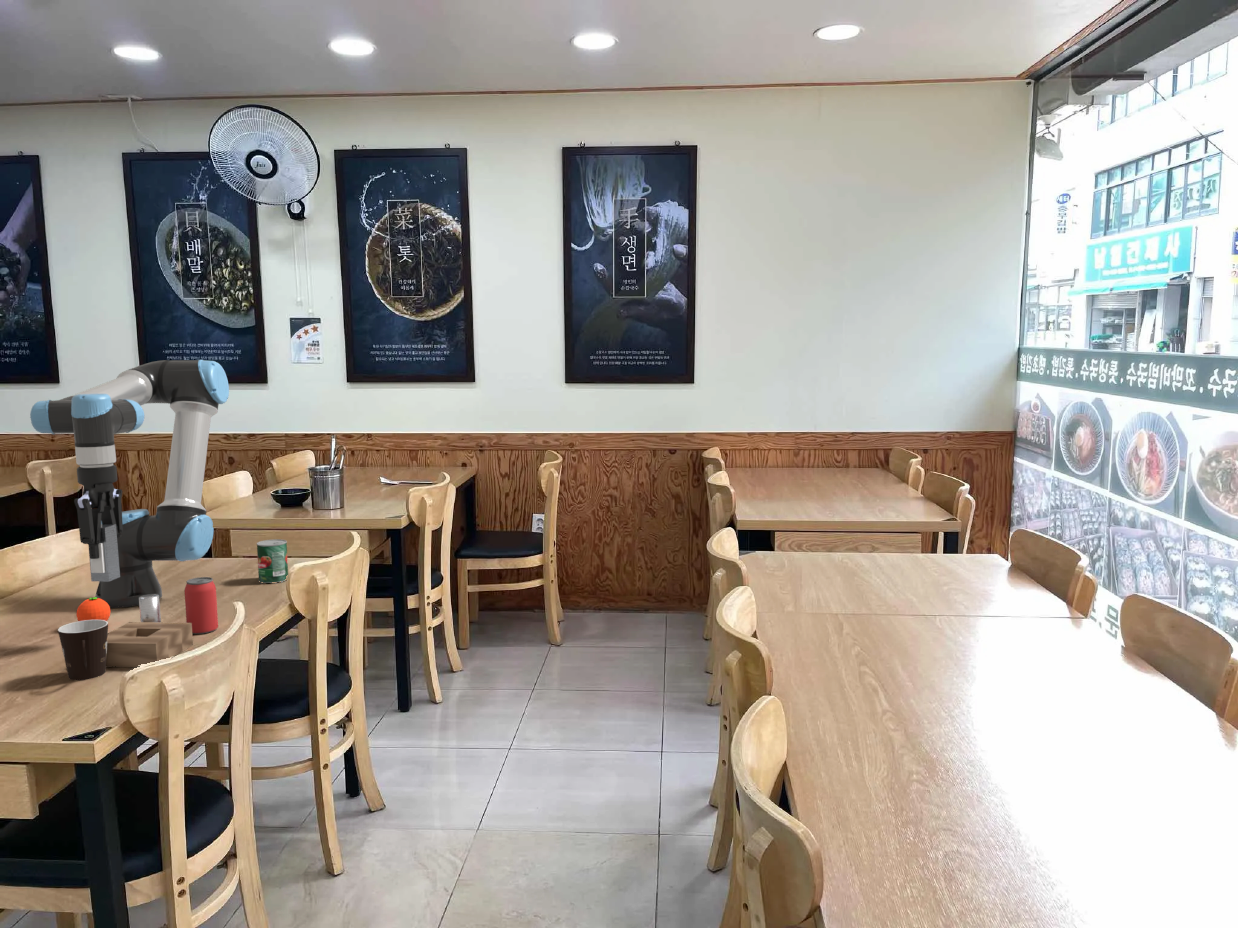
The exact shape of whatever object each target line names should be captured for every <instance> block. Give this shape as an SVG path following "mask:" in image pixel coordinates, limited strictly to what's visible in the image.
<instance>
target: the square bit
mask: <svg viewBox="0 0 1238 928" xmlns="http://www.w3.org/2000/svg"><path fill="white" fill-rule="evenodd" d="M100 543H103V548H104V560H105V572H104V573H91V572H90V580H91V582H99V581H101V582H109V581H112V580H114V579H116V578H119V577H120V569H119V557H118V544H117V532H116V524H101V536H100ZM87 546H88V547H89V545H88V544H87ZM88 556H89V555H88ZM89 559H90V556H89ZM89 567H90V571H91V562H90V561H89Z"/></svg>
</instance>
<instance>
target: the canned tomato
mask: <svg viewBox="0 0 1238 928" xmlns="http://www.w3.org/2000/svg"><path fill="white" fill-rule="evenodd" d="M287 543H288V541H287V540H286V539H282V538H281V539H275V538H273V539H265V540H259V541H258V542H256V551H257V553H256V554H257V568H258V569H257V571H258V575H257V576H258V582H259V581H260V582H263V583H272V582H280V581H281V583H284V582H283V581H285V579H286V576H287V575H288V576H289V567H288V566H289V563H288V544H287ZM285 582H286V581H285Z"/></svg>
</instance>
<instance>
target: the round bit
mask: <svg viewBox="0 0 1238 928" xmlns="http://www.w3.org/2000/svg"><path fill="white" fill-rule="evenodd" d="M160 604H161V603H160V599H159V595H158V594H148V595H143V596H140V597H139V605H138V606H139V619H140V621H139V622H162V621H161V620H162V619H161V605H160Z"/></svg>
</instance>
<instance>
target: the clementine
mask: <svg viewBox="0 0 1238 928" xmlns="http://www.w3.org/2000/svg"><path fill="white" fill-rule="evenodd" d="M110 616H111V608H110V607H109V605H108V603H107V602H105V601H104V600H102V599H100V598H97V597H89V598H87V599H85V600H84V601H82V602H81V603H80V604H79V605H78V606H77V610H76V619H77V622H78V621H84V620H105V621H107V622H108V620H109V619H110Z"/></svg>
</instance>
